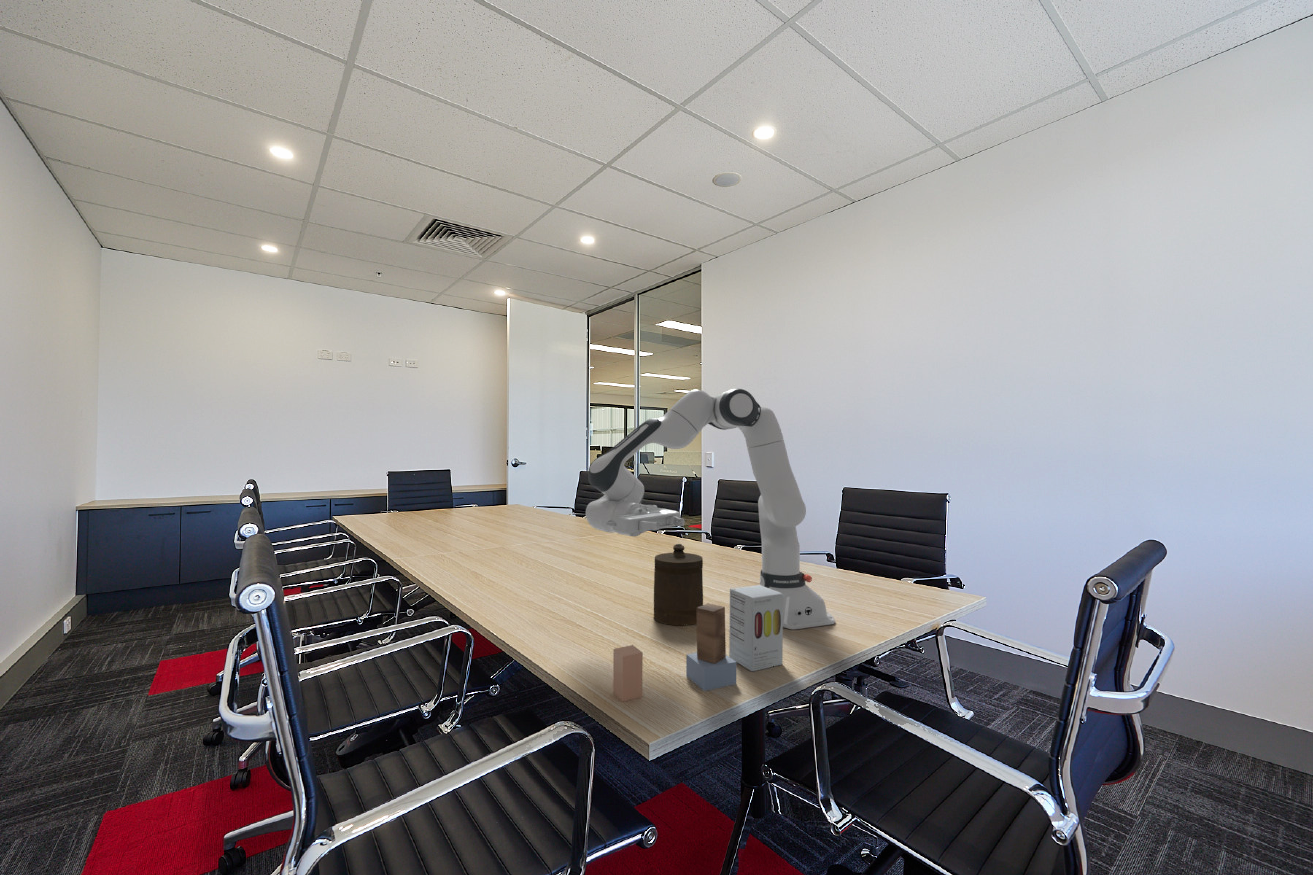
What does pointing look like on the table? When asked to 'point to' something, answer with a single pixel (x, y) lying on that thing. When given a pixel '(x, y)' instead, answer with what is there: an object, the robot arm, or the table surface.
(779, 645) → the supplement box
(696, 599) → the wooden container
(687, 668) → the slate block
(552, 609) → the table surface
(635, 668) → the terracotta post
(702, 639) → the walnut post
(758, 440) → the robot arm
